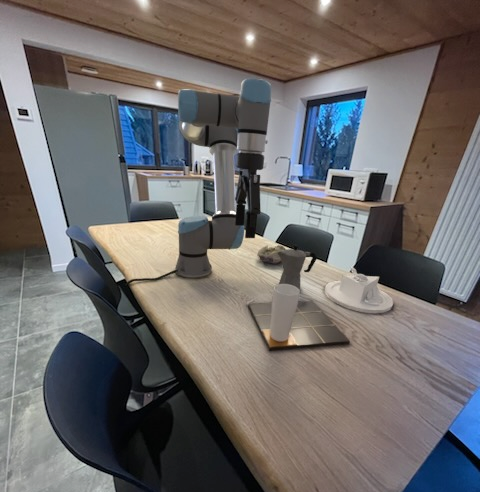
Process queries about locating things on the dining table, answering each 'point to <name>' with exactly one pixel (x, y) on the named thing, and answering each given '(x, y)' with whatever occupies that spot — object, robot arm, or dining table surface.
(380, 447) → the dining table surface
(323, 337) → the board
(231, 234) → the robot arm
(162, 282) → the dining table surface
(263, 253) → the geode
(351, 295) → the dish
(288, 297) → the drinking glass
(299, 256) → the coffeepot
